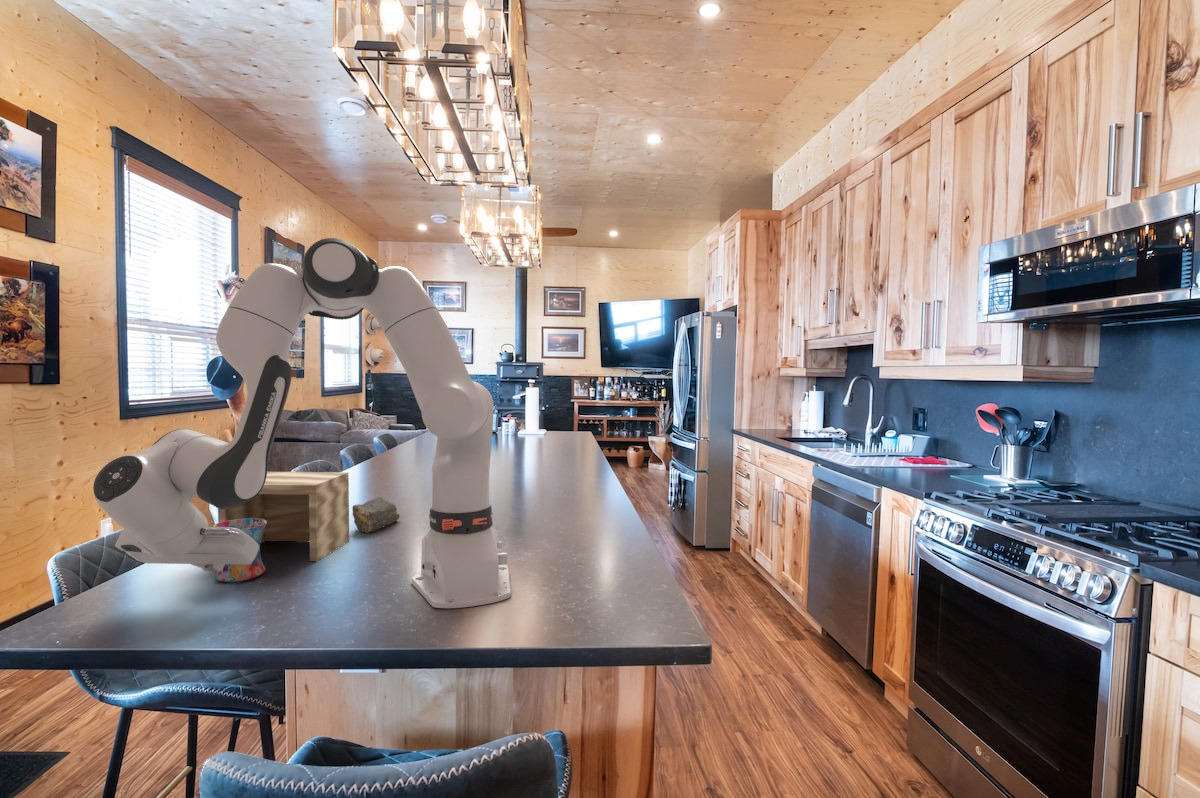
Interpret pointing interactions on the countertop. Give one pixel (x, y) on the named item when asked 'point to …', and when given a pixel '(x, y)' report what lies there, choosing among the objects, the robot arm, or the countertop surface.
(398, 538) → the countertop surface
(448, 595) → the robot arm
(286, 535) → the shelf unit
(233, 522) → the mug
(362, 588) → the countertop surface
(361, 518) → the rock
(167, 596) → the countertop surface
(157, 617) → the countertop surface
